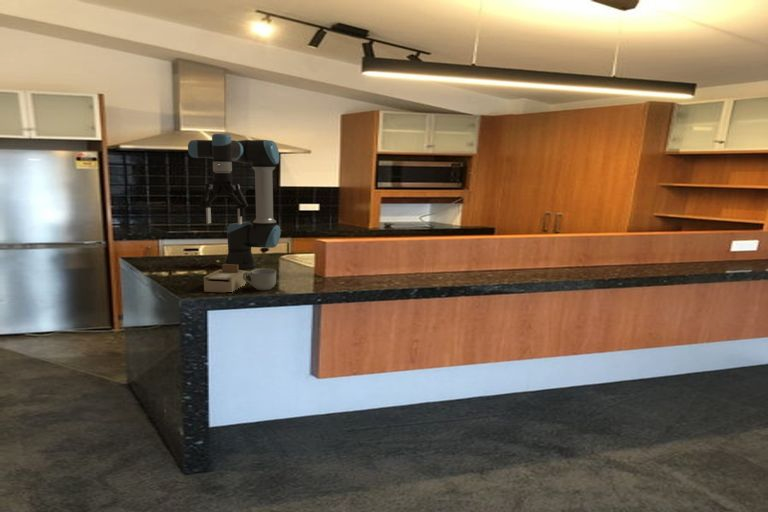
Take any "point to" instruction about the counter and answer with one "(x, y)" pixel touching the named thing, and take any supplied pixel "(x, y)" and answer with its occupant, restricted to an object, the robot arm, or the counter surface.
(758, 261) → the counter surface
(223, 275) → the lid
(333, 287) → the counter surface
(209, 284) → the box
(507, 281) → the counter surface
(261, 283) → the teacup
